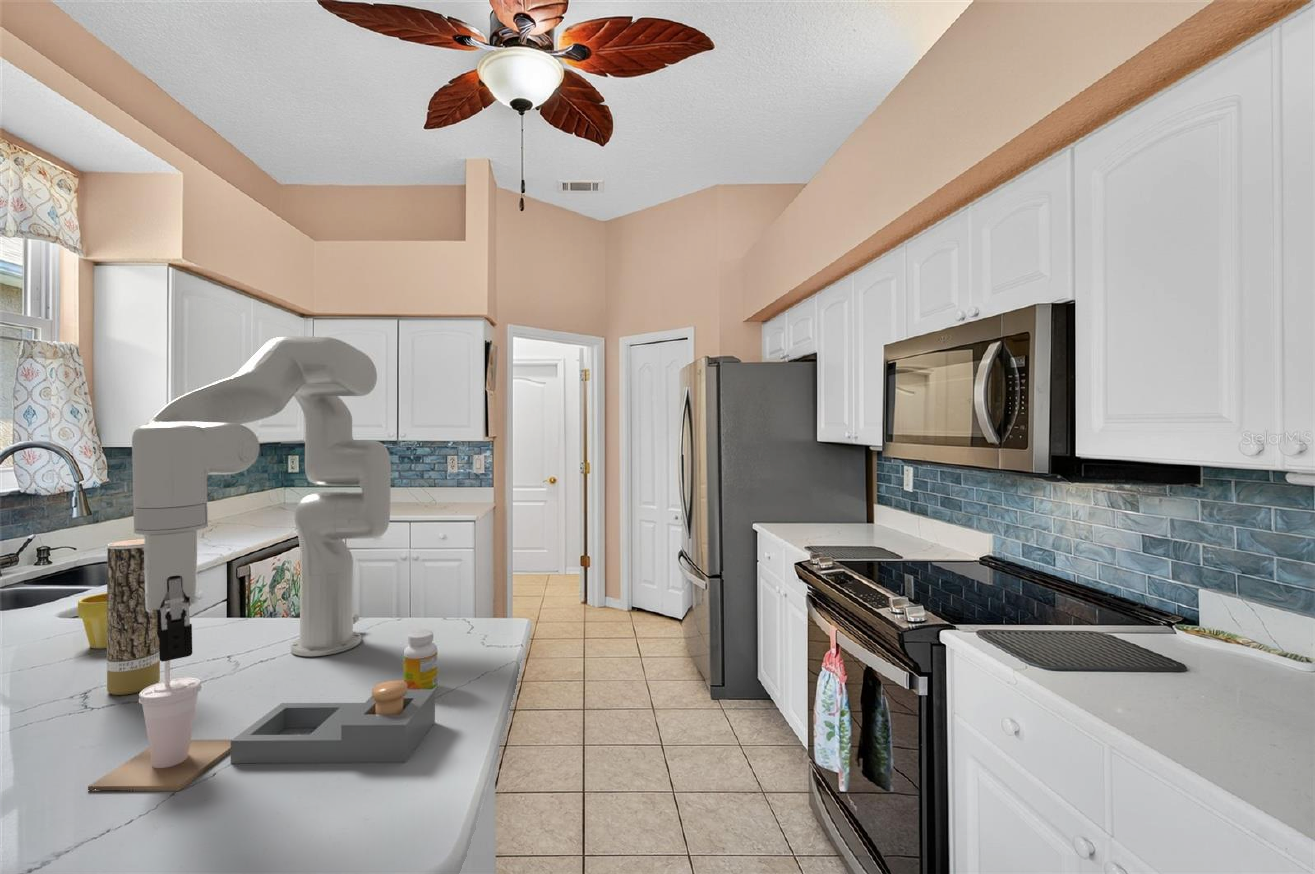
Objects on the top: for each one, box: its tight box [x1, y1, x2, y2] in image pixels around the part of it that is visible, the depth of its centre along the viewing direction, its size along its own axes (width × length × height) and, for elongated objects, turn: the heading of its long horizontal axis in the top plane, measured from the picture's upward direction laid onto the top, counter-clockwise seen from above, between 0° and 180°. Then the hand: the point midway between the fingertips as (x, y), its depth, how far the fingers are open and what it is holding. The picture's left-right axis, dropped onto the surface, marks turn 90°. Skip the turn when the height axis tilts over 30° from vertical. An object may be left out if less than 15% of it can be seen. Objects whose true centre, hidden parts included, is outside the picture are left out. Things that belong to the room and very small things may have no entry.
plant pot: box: [77, 592, 107, 650], centre depth 122 cm, size 10×10×10 cm
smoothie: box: [138, 660, 202, 768], centre depth 78 cm, size 6×6×14 cm
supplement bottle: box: [402, 629, 438, 690], centre depth 101 cm, size 5×5×10 cm
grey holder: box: [230, 689, 436, 764], centre depth 84 cm, size 11×23×5 cm, turn 91°
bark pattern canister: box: [106, 538, 161, 696], centre depth 101 cm, size 7×7×25 cm
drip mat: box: [87, 738, 232, 792], centre depth 78 cm, size 11×11×1 cm
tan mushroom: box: [371, 680, 407, 714], centre depth 84 cm, size 5×5×7 cm
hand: (174, 646), depth 78 cm, fingers open, 9 cm apart
